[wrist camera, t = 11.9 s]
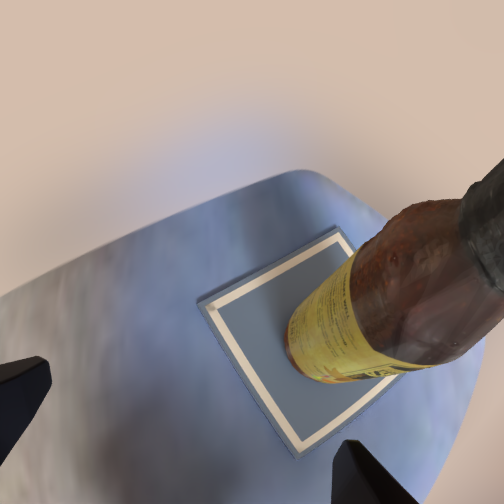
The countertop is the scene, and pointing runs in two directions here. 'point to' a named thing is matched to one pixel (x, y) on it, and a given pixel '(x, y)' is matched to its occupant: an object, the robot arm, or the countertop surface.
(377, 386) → the plate
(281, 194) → the countertop surface
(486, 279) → the sauce bottle
